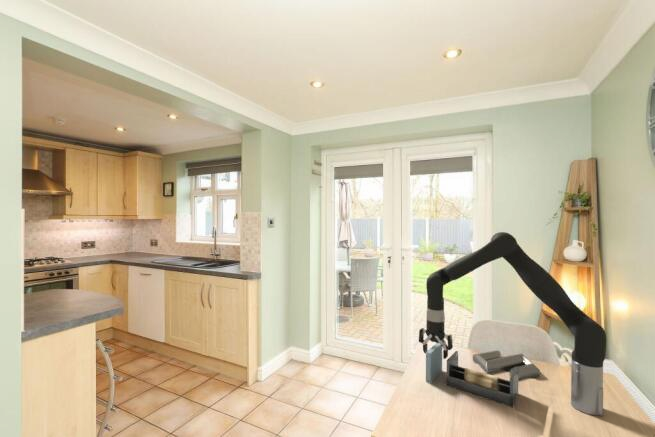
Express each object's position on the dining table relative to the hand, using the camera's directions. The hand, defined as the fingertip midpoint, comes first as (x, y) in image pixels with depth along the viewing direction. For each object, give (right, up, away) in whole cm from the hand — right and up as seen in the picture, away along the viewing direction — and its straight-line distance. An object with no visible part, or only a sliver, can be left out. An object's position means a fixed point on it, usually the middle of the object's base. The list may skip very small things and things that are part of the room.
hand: (435, 355), depth 142 cm
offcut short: (+13, -9, -15) cm, 21 cm away
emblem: (+36, -11, +10) cm, 39 cm away
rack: (+15, -10, -12) cm, 22 cm away
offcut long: (+14, -9, -13) cm, 21 cm away
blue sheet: (-1, -10, -1) cm, 10 cm away
